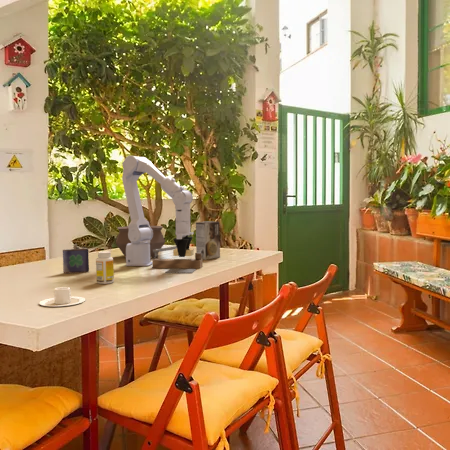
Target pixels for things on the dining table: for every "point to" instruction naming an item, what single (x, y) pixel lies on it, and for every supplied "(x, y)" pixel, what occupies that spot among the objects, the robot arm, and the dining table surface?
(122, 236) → the brown round pot
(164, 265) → the body
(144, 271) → the dining table surface
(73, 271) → the flask
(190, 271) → the mat
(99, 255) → the supplement bottle
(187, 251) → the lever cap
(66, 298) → the candle holder
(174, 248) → the lever
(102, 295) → the dining table surface
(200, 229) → the coffee box
